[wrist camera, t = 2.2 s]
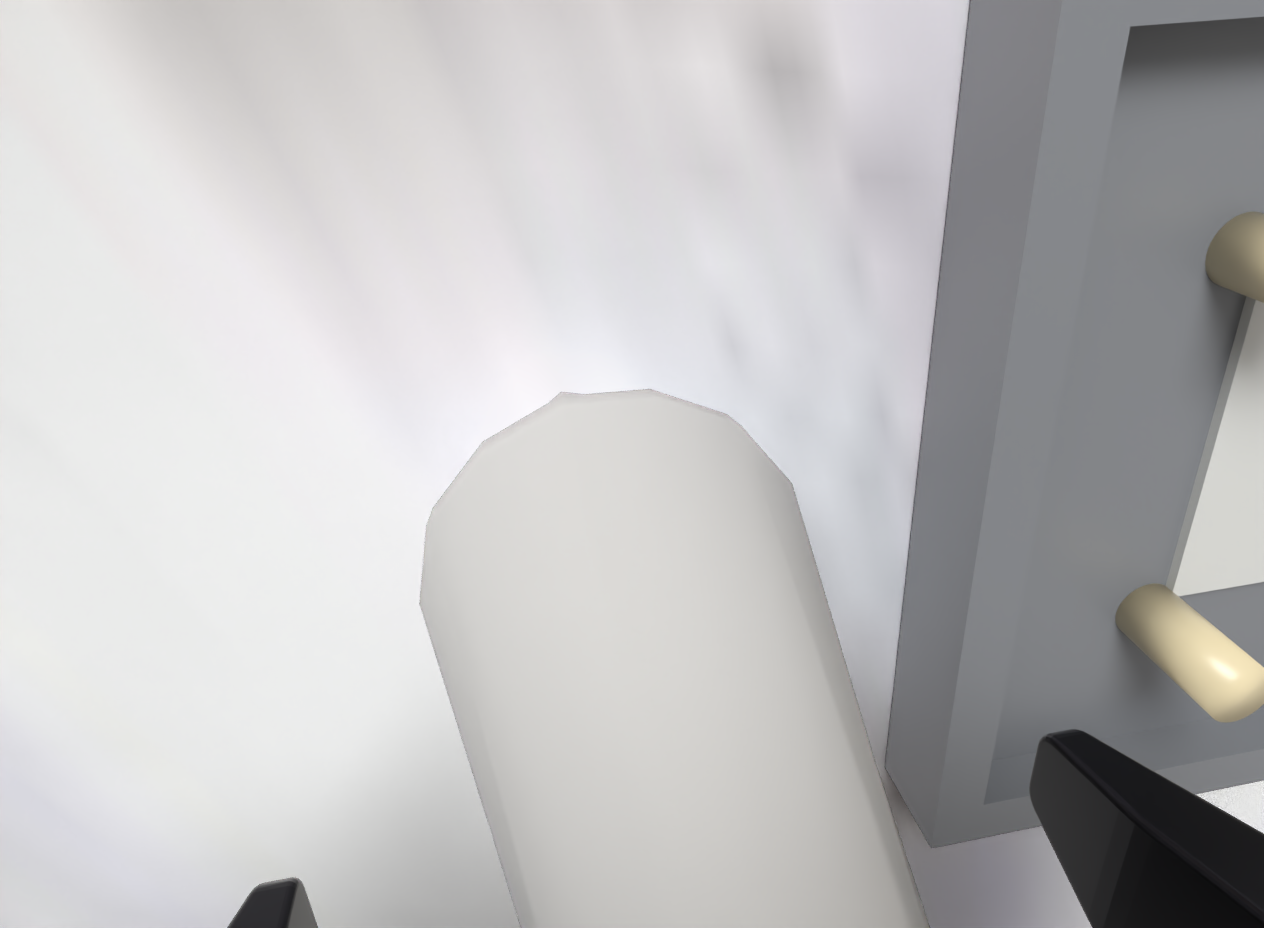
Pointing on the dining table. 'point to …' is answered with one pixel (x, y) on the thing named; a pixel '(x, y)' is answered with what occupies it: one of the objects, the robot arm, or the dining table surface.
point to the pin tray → (1091, 412)
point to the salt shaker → (655, 679)
